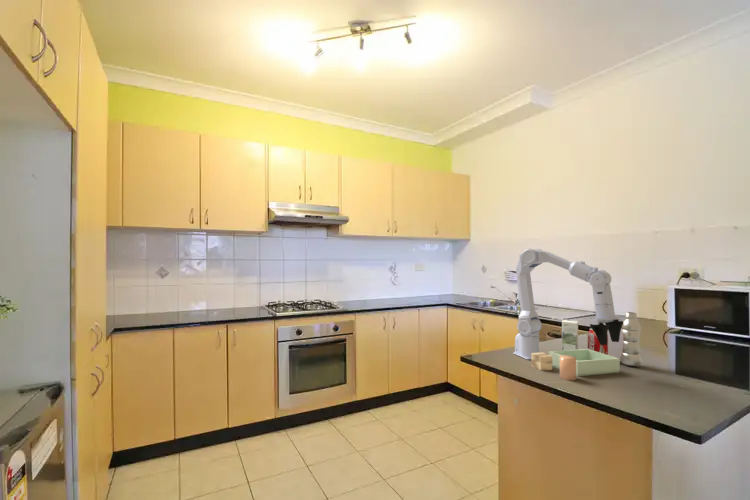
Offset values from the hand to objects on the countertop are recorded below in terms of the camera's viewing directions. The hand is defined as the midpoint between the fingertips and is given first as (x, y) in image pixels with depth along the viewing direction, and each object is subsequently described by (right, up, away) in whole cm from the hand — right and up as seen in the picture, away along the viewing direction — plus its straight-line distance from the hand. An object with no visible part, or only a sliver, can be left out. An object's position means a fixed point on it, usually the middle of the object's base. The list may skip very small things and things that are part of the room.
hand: (609, 343), depth 129 cm
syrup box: (-2, -11, +23) cm, 26 cm away
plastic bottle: (+14, -11, +10) cm, 21 cm away
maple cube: (-21, -11, +6) cm, 25 cm away
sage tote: (-6, -11, +5) cm, 13 cm away
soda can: (+7, -11, +18) cm, 22 cm away
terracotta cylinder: (-18, -10, -5) cm, 21 cm away
